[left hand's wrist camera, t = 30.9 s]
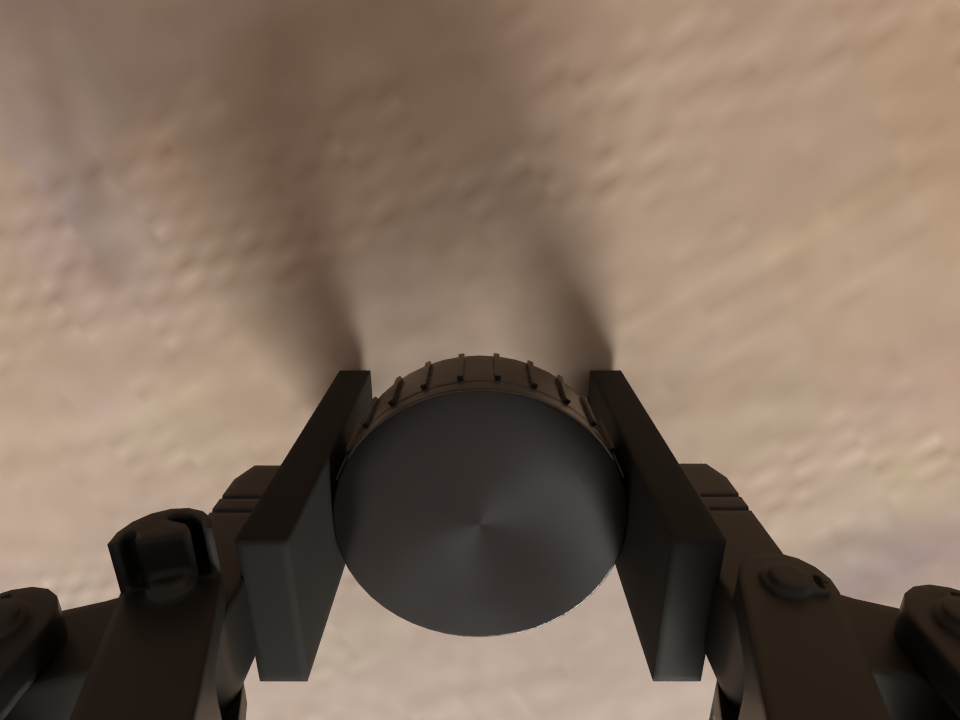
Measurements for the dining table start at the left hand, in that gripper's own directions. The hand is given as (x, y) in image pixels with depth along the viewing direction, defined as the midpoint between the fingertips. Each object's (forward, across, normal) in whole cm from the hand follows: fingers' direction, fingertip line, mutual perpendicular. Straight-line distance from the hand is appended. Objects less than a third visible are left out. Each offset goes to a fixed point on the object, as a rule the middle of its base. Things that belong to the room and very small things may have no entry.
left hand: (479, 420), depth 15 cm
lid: (-4, 0, 0) cm, 4 cm away
